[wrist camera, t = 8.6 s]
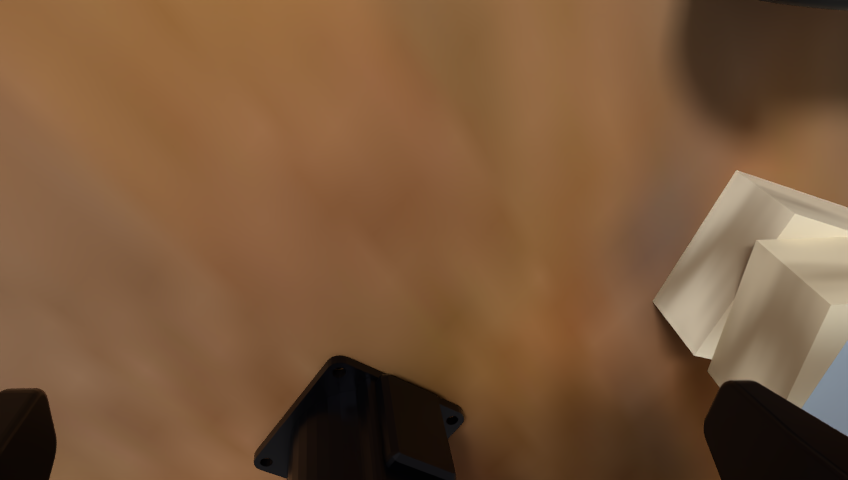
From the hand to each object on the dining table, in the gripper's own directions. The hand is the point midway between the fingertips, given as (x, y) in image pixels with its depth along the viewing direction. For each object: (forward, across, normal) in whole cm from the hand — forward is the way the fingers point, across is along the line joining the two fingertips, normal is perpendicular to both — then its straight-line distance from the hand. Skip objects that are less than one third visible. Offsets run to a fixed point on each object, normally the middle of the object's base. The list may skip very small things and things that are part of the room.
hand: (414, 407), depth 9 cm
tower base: (+13, -16, +5) cm, 21 cm away
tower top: (+10, -16, +5) cm, 19 cm away
